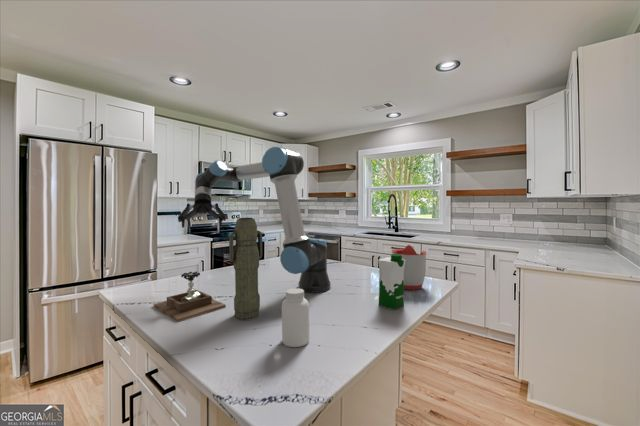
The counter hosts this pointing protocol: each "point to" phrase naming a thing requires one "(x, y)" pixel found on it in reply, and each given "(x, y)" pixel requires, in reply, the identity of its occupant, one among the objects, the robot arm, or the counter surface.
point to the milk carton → (391, 281)
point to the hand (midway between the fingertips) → (202, 232)
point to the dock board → (188, 306)
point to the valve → (191, 287)
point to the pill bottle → (295, 318)
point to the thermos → (246, 268)
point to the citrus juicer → (412, 267)
